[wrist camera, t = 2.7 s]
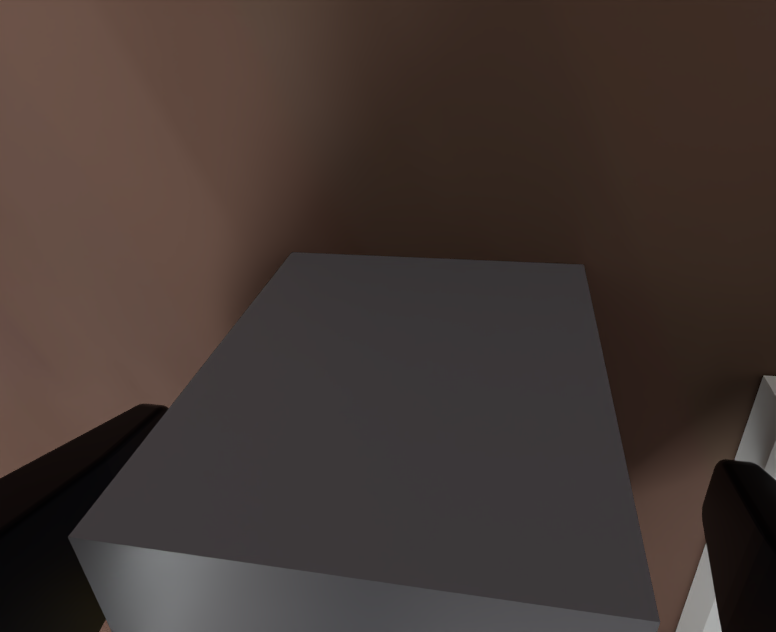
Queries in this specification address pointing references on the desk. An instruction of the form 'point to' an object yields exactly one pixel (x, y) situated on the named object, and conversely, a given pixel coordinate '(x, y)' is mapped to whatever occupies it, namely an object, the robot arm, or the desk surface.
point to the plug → (383, 465)
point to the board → (758, 445)
